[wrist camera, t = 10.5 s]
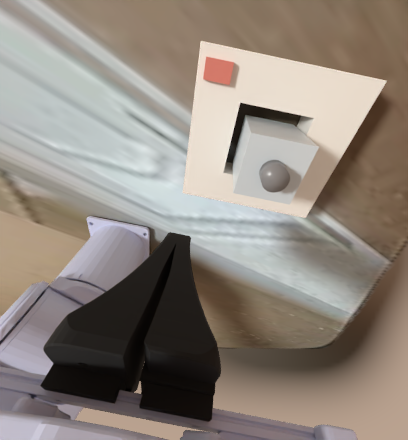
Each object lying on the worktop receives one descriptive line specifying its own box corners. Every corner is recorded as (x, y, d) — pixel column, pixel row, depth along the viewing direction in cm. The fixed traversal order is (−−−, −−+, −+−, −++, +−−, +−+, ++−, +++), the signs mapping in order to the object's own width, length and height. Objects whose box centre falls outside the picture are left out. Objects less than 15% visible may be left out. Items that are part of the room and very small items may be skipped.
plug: (273, 166, 20) (294, 214, 13) (232, 157, 20) (233, 202, 13) (290, 122, 17) (327, 153, 11) (244, 112, 17) (252, 138, 11)
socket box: (297, 202, 22) (306, 220, 19) (187, 180, 21) (181, 195, 19) (363, 79, 15) (390, 81, 12) (205, 45, 15) (200, 40, 12)
